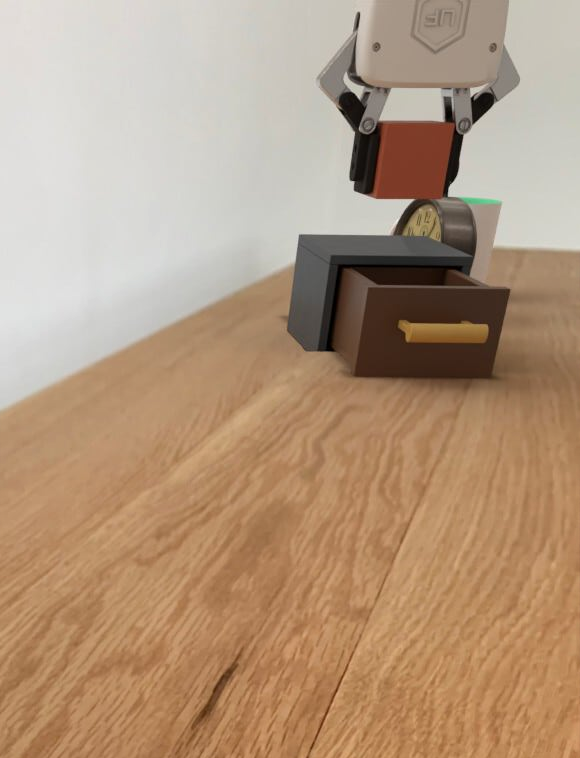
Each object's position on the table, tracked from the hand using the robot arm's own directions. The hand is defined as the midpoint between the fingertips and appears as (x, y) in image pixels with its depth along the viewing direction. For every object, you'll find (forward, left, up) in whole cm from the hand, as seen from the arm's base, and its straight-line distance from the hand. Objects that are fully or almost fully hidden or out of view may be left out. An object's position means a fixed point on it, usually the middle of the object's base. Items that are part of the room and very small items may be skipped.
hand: (400, 189), depth 85 cm
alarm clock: (-14, -33, -15) cm, 39 cm away
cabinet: (-4, -18, -15) cm, 24 cm away
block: (0, 0, 0) cm, 0 cm away
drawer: (-4, -4, -14) cm, 16 cm away
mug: (-19, -47, -15) cm, 53 cm away
